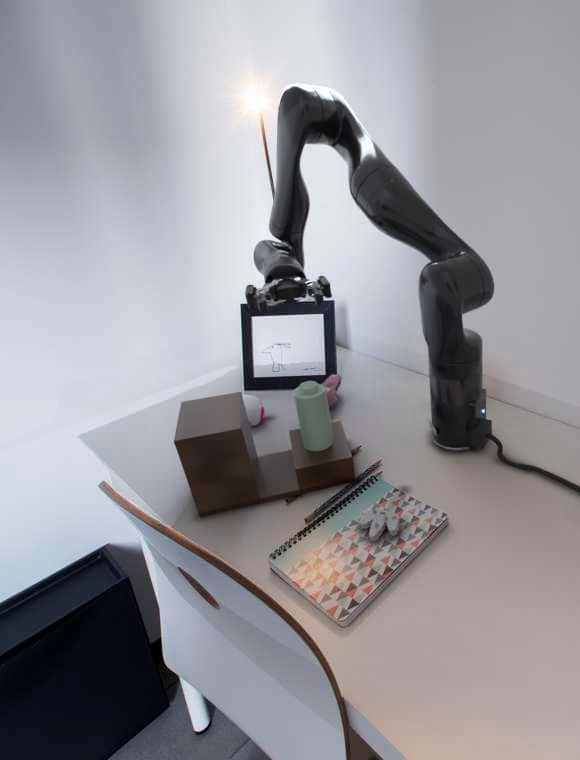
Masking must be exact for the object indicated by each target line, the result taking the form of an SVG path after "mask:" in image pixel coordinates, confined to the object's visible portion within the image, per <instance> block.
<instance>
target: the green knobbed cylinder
mask: <svg viewBox="0 0 580 760" xmlns="http://www.w3.org/2000/svg"><path fill="white" fill-rule="evenodd" d="M321 384H322V383H318V382H317V381H316V380H315V381H314V380H307V381H303V382H301V383H300V384H299V386H297V387H295V389H293V393H292V395H293V399H294V404H295V408H296V409H295V410H296V414H297V419H298V424H299V429H300V430H301V435H302V440H303V445H304V447H305V449H307V450H309V451H322V450H325V449H327V448H329V447H330V446H332V444H333V443H334V437H333V431H332V425H331V422H332V420H331V414H330V413H331V412H330V408H329V407H328V401H327V395H326V389H325V387H324V386H323V385H321Z"/></svg>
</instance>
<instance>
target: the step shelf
mask: <svg viewBox="0 0 580 760" xmlns="http://www.w3.org/2000/svg"><path fill="white" fill-rule="evenodd" d="M242 395H243V394H242V391H237V392H236V391H235V392H231V393H225V394H219V395H213V396H208V397H201V398H195V399H190V400H184V401H181V402H180V407H179V412H178V416H177V417H178V418H177V423H176V428H175V432H174V437H173V444H174V446H175V450H176V453H177V455H178V458H179V461H180V464H181V467H182V470H183V472H184V476H185V478H186V481H187V484H188V487H189V490H190V493H191V495H192V496H191V497H192V499H193V501H194V505H195V507H196V510H197V513H198V517H199V518H204V517H208V516H212V515H215V514H216V515H217V514H221V513H225V512H230V511H234V510H238V509H242V508H247V507H251V506H256V505H259V504H263V503H268V502H272V501H273V502H274V501H277V500H281V499H285V498H291V497H294V496H297V495H298V496H299V495H303V494H308V493H311V492H316V491H321V490H325V489H329V488H334V487H337V486H343V485H346V484H350V483H356V481H357V478H356V472H355V465H354V458H353V454H352V452H351V448H350V445H349V442H348V439H347V437H346V433H345V430H344V427H343V424H342V420H336V421H331V425H332V431H333V437H334V443H333V444H332V446H330V447H329V448H327V449H325V450H322V451H309V450H307V449H305V447H304V445H303V440H302V435H301V430H300V428H295V429H292V430H291V429H289V431H288V433H289V434H288V435H289V441H290V444H291V445H290V446H291V449H289V450H283V451H279V452H274V453H269V454H264V455H260V456H258V452H257V449H256V445H255V444H256V443H255V440H254V436H253V433H252V429H251V426H250V424H249V420H248V417H247V413H246V409H245V405H244V401H243V397H242Z"/></svg>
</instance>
